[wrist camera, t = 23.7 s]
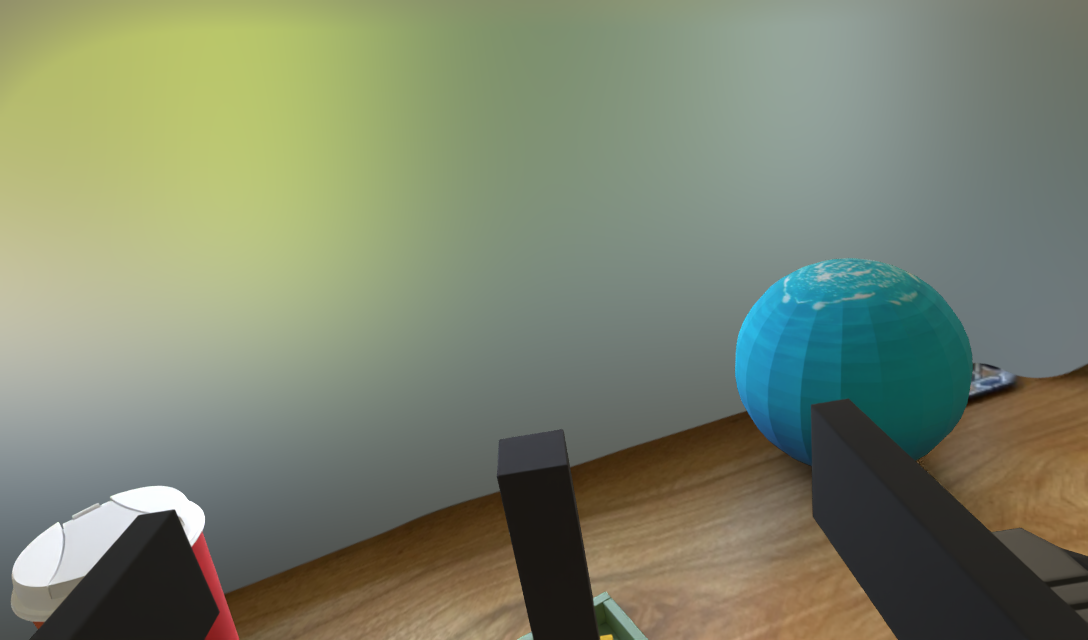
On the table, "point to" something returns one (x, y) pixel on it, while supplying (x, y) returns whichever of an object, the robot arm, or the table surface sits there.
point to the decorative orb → (854, 355)
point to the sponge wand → (547, 536)
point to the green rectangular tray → (610, 621)
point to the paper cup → (86, 538)
